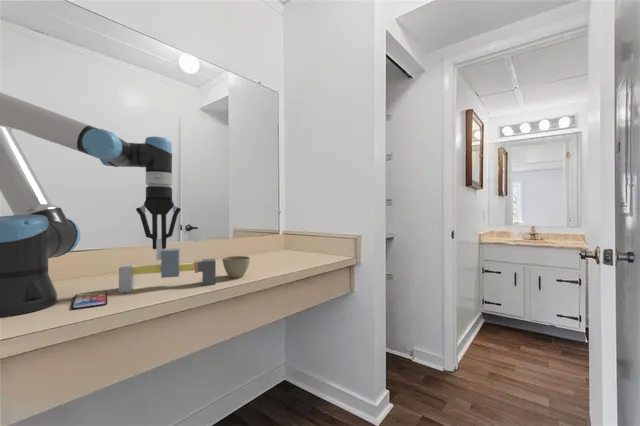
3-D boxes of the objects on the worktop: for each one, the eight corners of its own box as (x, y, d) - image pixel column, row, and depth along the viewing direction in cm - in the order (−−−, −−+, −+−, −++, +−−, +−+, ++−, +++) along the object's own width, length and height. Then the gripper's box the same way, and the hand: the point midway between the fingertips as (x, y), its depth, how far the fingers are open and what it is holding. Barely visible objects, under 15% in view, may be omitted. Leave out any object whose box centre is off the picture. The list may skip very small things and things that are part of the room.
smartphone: (70, 308, 74) (75, 293, 87) (70, 312, 74) (75, 297, 87) (107, 303, 79) (106, 290, 91) (107, 307, 79) (106, 293, 91)
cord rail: (118, 293, 90) (118, 266, 90) (124, 287, 96) (124, 262, 96) (215, 285, 100) (215, 261, 100) (214, 280, 107) (214, 258, 107)
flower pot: (242, 280, 107) (242, 260, 107) (217, 278, 109) (217, 259, 109) (254, 274, 117) (254, 256, 117) (230, 273, 119) (230, 255, 119)
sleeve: (161, 277, 95) (161, 251, 95) (162, 274, 100) (162, 249, 100) (178, 276, 97) (178, 250, 97) (179, 273, 102) (179, 248, 101)
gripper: (133, 184, 91) (134, 262, 91) (180, 186, 96) (181, 259, 96) (137, 186, 98) (138, 258, 98) (181, 187, 103) (182, 256, 103)
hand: (159, 259), depth 97 cm, fingers closed
